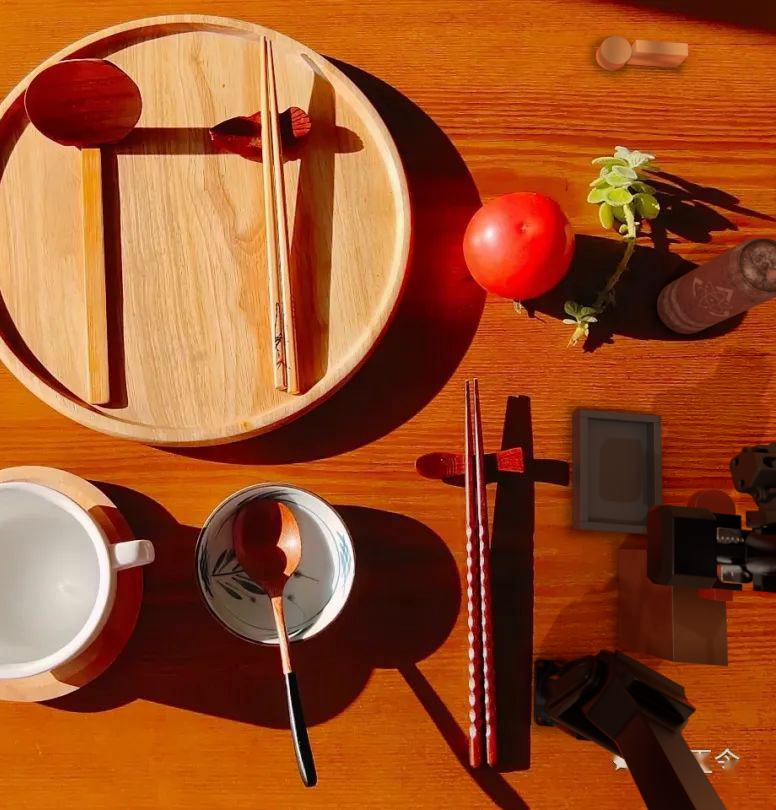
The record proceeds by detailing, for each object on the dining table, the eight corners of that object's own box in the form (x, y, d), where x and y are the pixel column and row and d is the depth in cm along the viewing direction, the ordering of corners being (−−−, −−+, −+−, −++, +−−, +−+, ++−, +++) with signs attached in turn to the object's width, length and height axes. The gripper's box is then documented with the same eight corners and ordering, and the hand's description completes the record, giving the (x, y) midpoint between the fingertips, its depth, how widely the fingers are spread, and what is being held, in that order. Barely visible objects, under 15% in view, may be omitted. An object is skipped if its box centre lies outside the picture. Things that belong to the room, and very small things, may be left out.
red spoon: (727, 600, 68) (745, 603, 65) (686, 596, 68) (702, 599, 65) (726, 491, 69) (743, 490, 67) (686, 487, 69) (702, 486, 67)
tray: (653, 535, 81) (663, 535, 79) (572, 529, 81) (580, 528, 79) (651, 418, 83) (661, 415, 81) (572, 412, 83) (580, 409, 81)
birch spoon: (676, 48, 91) (688, 35, 89) (676, 75, 91) (688, 63, 88) (595, 42, 91) (605, 29, 89) (595, 69, 91) (605, 57, 88)
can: (708, 340, 85) (801, 302, 71) (651, 329, 85) (733, 288, 71) (713, 289, 86) (806, 241, 72) (657, 278, 86) (738, 228, 72)
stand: (666, 650, 79) (728, 666, 69) (618, 646, 79) (673, 662, 69) (664, 552, 81) (724, 554, 71) (617, 548, 81) (671, 550, 71)
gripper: (976, 454, 54) (810, 472, 69) (709, 429, 54) (604, 452, 69) (986, 617, 52) (814, 598, 67) (710, 591, 52) (602, 577, 68)
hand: (708, 552), depth 68 cm, fingers closed on red spoon, 2 cm apart
